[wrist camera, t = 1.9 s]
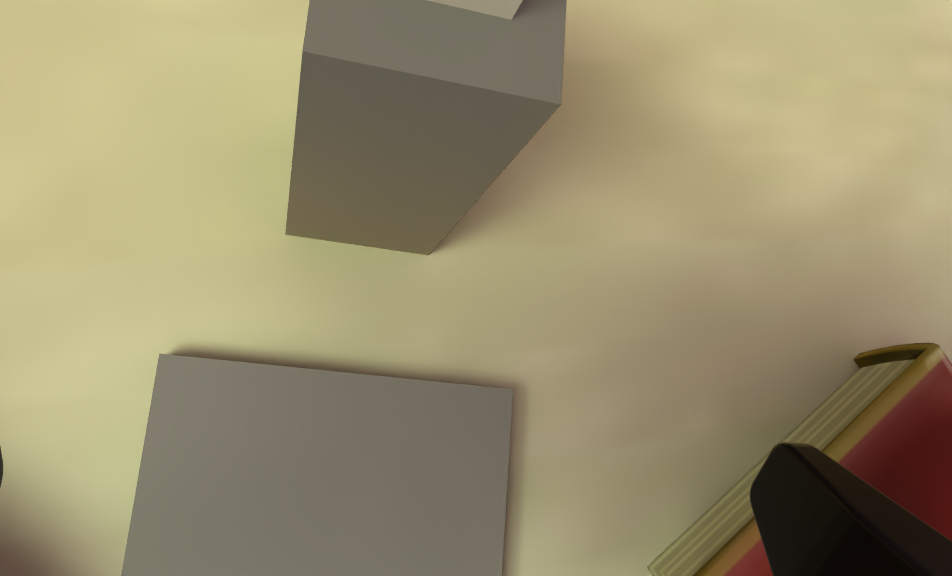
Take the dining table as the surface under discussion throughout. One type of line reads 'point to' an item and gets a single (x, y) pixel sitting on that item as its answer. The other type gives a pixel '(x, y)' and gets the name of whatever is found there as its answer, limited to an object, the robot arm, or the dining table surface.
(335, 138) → the grey tall piece
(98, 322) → the dining table surface
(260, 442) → the plate
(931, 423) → the hardcover book
